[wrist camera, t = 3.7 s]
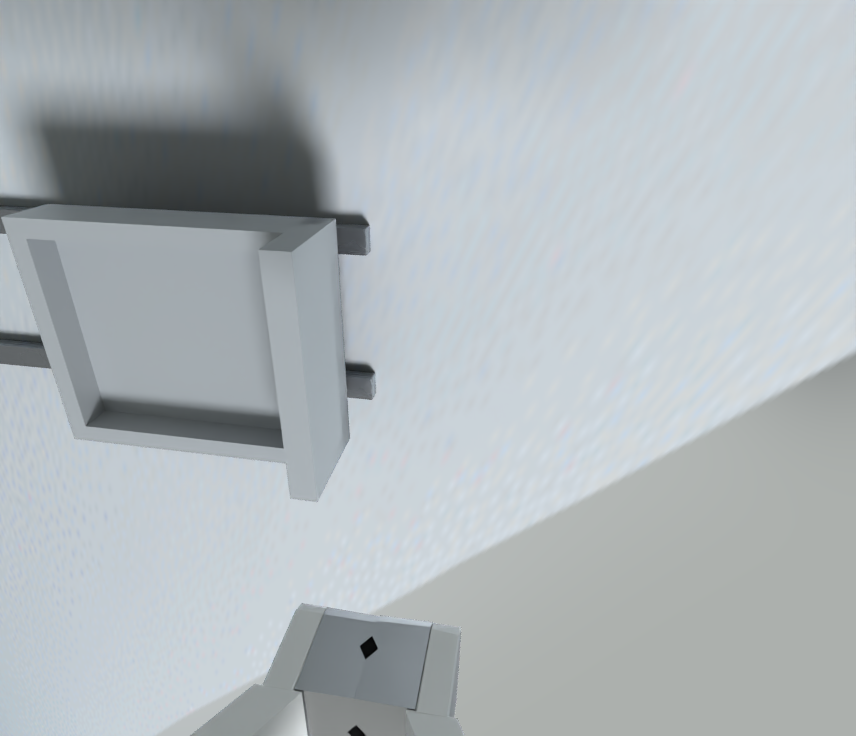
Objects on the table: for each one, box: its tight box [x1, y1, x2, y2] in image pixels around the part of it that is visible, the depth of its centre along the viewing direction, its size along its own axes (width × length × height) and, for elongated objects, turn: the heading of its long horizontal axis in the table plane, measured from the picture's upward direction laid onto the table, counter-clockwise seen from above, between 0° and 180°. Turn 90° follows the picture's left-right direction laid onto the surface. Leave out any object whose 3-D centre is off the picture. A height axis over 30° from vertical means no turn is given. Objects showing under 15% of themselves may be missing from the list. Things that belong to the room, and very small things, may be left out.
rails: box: [0, 206, 376, 400], centre depth 25 cm, size 29×8×3 cm, turn 90°
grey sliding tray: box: [1, 204, 350, 502], centre depth 22 cm, size 11×9×6 cm
